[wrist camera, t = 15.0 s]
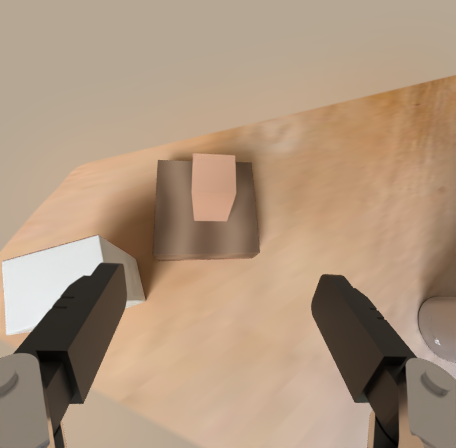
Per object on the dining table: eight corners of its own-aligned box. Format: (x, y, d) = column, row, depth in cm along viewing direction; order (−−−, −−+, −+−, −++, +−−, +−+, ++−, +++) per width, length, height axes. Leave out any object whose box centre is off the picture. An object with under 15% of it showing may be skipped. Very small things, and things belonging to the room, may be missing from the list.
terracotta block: (226, 192, 33) (235, 155, 25) (226, 221, 32) (236, 193, 23) (195, 190, 33) (193, 153, 24) (194, 220, 31) (191, 191, 23)
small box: (136, 257, 33) (100, 232, 21) (146, 301, 32) (114, 301, 19) (76, 276, 32) (-2, 260, 19) (83, 323, 30) (4, 338, 18)
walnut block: (245, 178, 40) (251, 162, 36) (251, 258, 36) (259, 252, 31) (162, 177, 38) (157, 160, 34) (159, 261, 34) (152, 255, 29)
